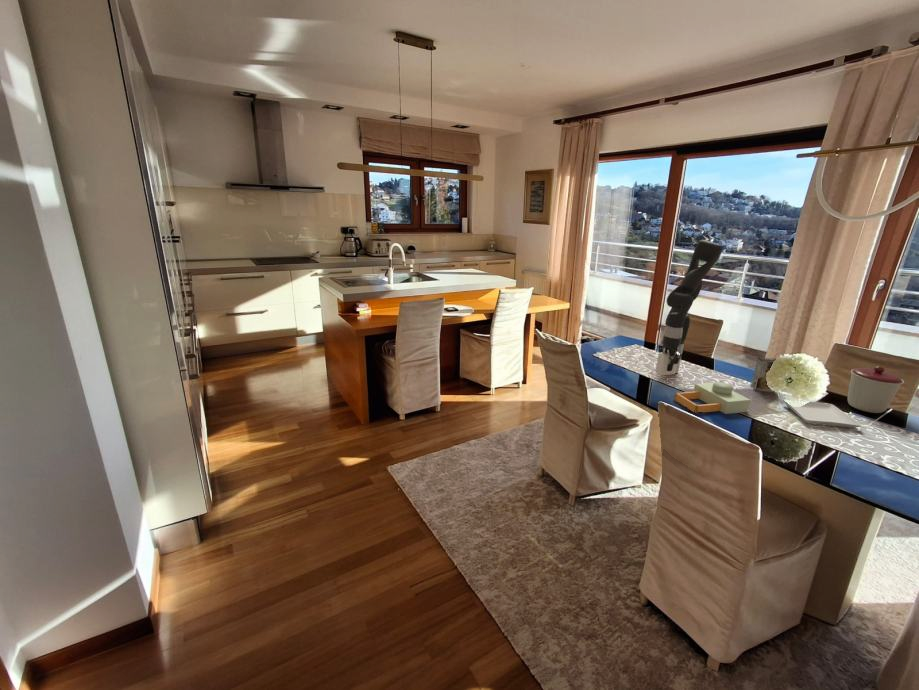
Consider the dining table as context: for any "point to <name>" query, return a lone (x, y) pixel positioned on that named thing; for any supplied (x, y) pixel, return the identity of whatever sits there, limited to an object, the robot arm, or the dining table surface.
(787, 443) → the dining table surface
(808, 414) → the salad plate
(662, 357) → the white block
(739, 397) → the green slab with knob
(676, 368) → the robot arm
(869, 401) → the canister
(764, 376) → the coffee box
